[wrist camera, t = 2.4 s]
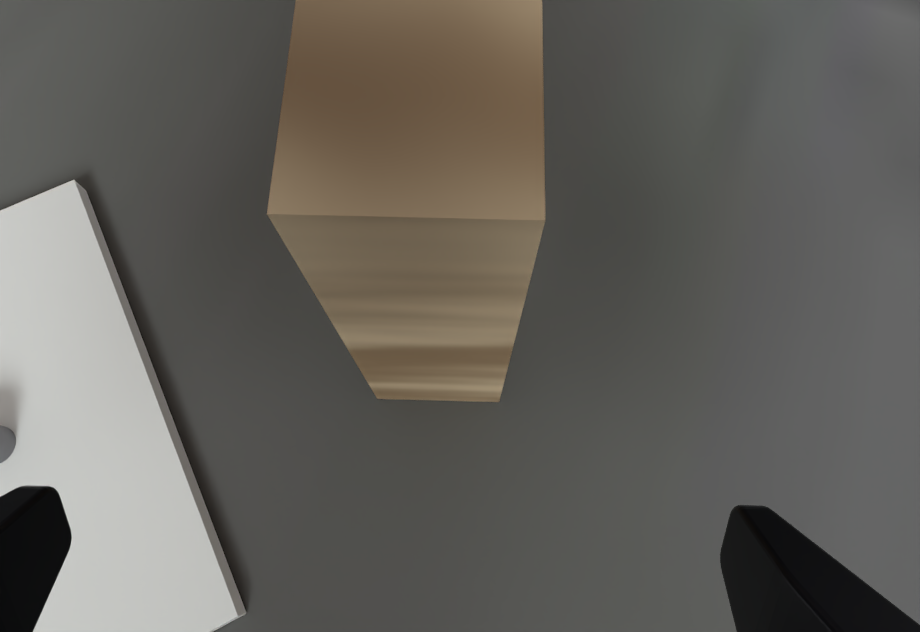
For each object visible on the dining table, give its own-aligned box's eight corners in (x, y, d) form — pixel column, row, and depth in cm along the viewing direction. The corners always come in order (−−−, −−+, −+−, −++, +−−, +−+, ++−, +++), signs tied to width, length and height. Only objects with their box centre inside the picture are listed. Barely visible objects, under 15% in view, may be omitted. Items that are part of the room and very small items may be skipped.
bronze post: (499, 401, 22) (546, 220, 10) (377, 398, 22) (266, 213, 10) (500, 288, 23) (542, -2, 11) (385, 285, 23) (296, -6, 11)
